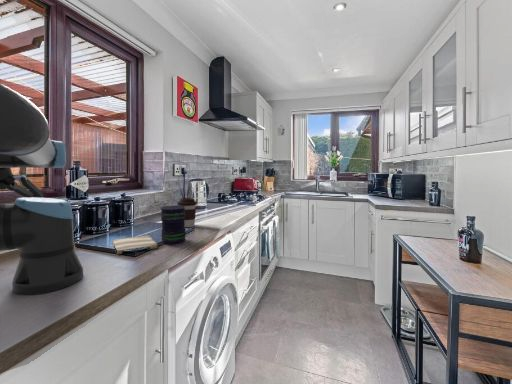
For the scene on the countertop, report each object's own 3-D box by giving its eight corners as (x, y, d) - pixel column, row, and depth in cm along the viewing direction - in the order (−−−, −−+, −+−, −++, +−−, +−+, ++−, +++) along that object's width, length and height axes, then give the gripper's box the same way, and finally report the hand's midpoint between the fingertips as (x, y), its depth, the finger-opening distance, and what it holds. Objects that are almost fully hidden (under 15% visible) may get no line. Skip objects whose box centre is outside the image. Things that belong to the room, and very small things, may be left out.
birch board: (157, 247, 101) (157, 244, 101) (117, 254, 93) (117, 250, 93) (148, 238, 114) (148, 235, 114) (112, 243, 106) (112, 240, 106)
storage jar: (178, 246, 104) (177, 209, 103) (156, 244, 106) (155, 208, 104) (189, 239, 114) (189, 206, 112) (169, 238, 116) (168, 205, 114)
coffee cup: (174, 227, 135) (173, 199, 134) (184, 223, 145) (184, 197, 143) (190, 229, 133) (190, 200, 131) (200, 225, 142) (200, 198, 141)
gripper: (46, 156, 83) (55, 205, 95) (-71, 155, 70) (-44, 212, 81) (45, 169, 79) (54, 219, 90) (-81, 170, 65) (-51, 229, 77)
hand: (7, 216), depth 86 cm, fingers open, 13 cm apart
